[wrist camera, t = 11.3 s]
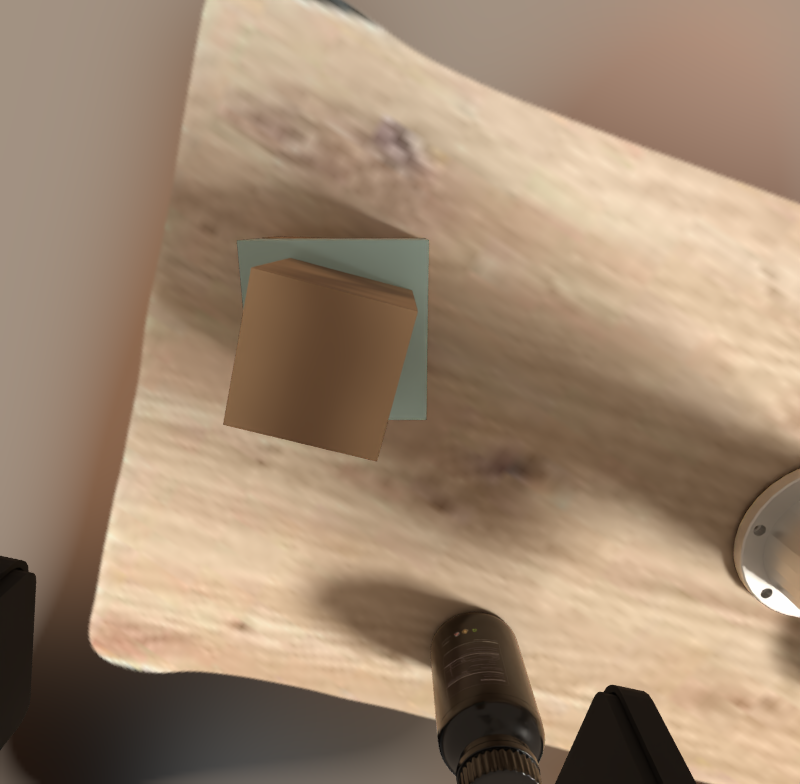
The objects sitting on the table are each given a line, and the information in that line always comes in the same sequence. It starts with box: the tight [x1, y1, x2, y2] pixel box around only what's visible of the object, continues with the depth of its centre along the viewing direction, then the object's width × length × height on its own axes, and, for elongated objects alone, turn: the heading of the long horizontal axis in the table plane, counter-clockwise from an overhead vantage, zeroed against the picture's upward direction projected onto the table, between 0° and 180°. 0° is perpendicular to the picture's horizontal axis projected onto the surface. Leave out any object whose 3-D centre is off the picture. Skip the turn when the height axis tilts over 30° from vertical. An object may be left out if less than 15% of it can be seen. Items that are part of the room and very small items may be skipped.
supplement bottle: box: [431, 612, 545, 784], centre depth 36 cm, size 7×7×12 cm
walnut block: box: [223, 258, 418, 461], centre depth 23 cm, size 6×6×7 cm
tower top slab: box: [237, 238, 429, 420], centre depth 28 cm, size 9×9×4 cm
